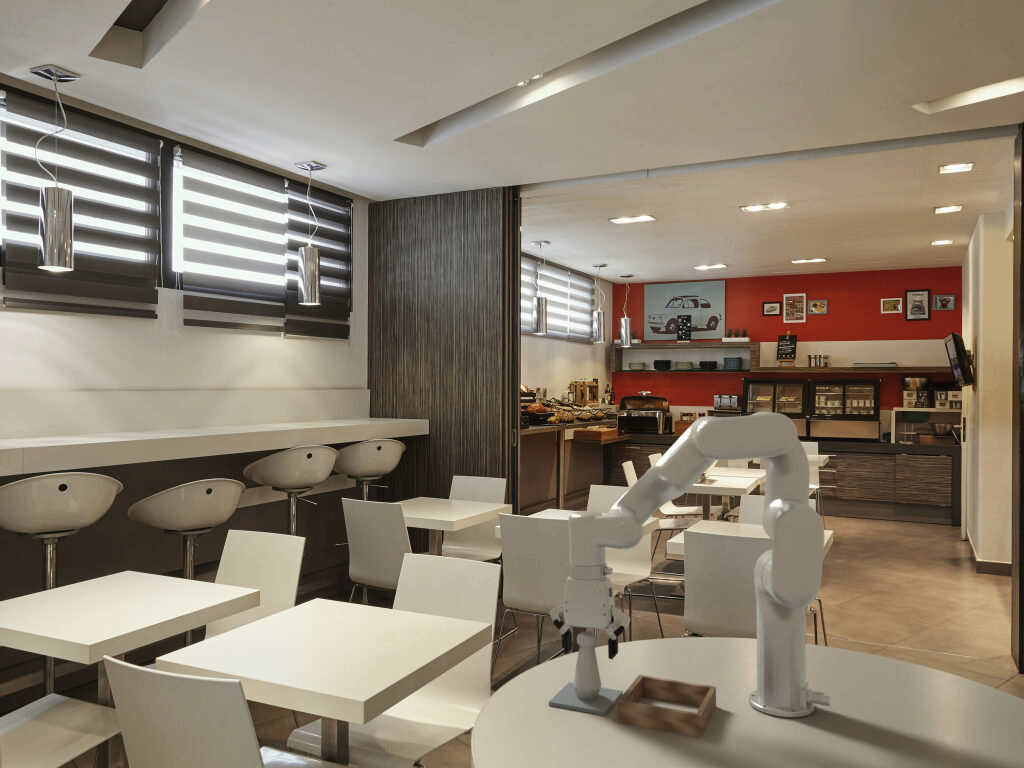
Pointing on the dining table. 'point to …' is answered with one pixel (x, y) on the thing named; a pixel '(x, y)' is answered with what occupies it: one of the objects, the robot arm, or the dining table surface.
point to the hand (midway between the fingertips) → (590, 654)
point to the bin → (666, 717)
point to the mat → (597, 705)
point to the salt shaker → (587, 667)
